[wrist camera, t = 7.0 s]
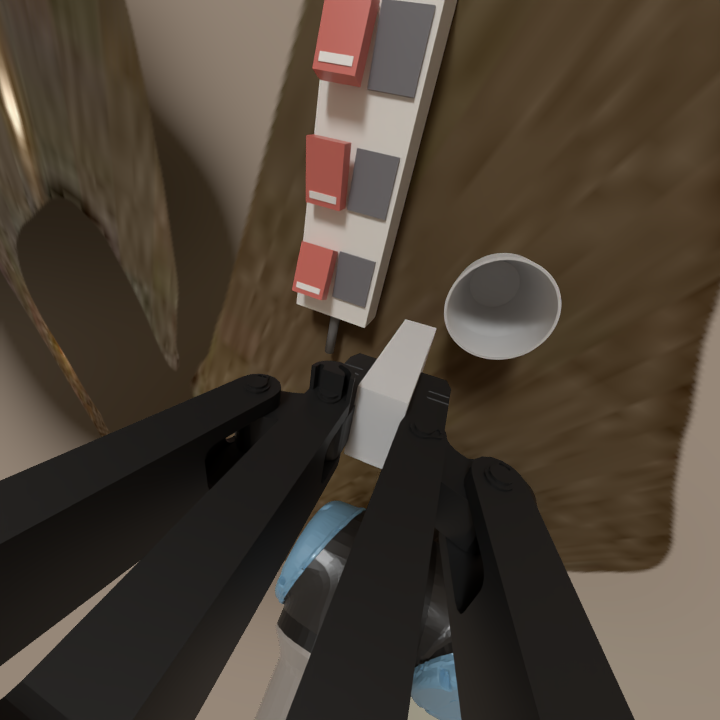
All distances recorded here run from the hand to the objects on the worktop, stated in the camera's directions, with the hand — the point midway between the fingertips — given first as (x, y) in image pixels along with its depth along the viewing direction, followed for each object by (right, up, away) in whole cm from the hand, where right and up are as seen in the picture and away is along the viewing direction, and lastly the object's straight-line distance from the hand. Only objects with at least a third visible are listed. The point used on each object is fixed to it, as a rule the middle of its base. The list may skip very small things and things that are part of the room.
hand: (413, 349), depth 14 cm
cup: (+12, +8, +17) cm, 22 cm away
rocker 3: (-7, +9, +17) cm, 21 cm away
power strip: (-3, +16, +18) cm, 24 cm away
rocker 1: (-4, +24, +8) cm, 25 cm away
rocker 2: (-6, +16, +12) cm, 21 cm away
